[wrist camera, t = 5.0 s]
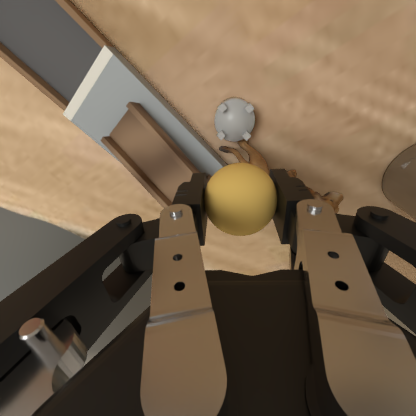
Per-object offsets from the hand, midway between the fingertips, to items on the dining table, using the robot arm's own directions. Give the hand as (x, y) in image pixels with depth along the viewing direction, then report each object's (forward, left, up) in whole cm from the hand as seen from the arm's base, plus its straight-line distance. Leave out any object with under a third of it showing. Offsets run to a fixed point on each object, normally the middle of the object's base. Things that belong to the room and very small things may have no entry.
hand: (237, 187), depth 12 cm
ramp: (+2, +8, -15) cm, 17 cm away
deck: (+4, +8, -17) cm, 19 cm away
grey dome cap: (0, -1, -17) cm, 17 cm away
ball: (0, 0, +2) cm, 2 cm away
